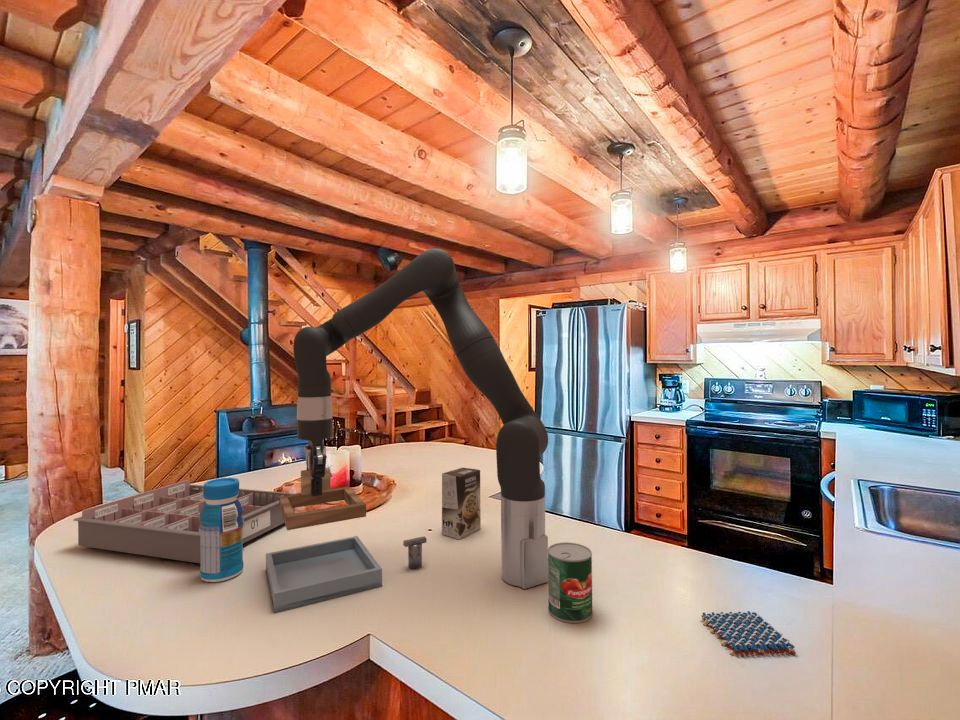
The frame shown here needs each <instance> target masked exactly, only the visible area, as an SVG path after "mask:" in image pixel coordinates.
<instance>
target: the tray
mask: <svg viewBox="0 0 960 720" xmlns="http://www.w3.org/2000/svg"><path fill="white" fill-rule="evenodd" d="M265 572H266V576H267V581H268V586H269V591H270V596H271V601H272V602H271V603H272V606H273V612H274V614H276V613H281V612H285V611H288V610H292V609H296V608H300V607H304V606H309V605H313V604H316V603H320V602H324V601H328V600H332V599H336V598H341V597H343V596H347V595H352V594H355V593H360V592H364V591H368V590H372V589H375V588H380V587H383V568H382V567H381V566H380V564H379V563H378V561H377V560H376V559H375V558H374V556H373V554H371V552H370V550H368V548H367V547H366V545H365V544H364V543H363V541H362V540H361V538H360V537H359V536H358V535H356V536H355V535H354V536H350V537H345V538H340V539H333V540H329V541H323V542H320V543H314V544H309V545H304V546H299V547H293V548H287V549H283V550H275V551H272V552H267V553H265Z"/></svg>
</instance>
